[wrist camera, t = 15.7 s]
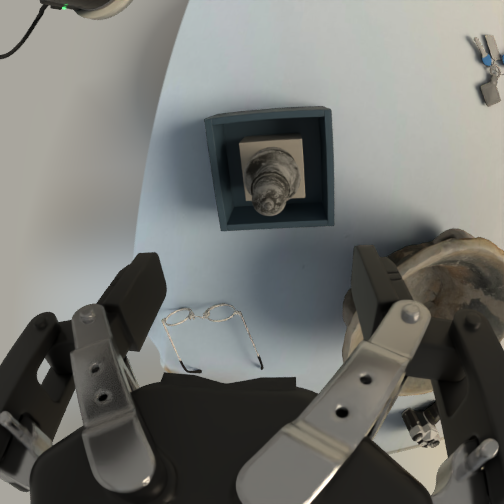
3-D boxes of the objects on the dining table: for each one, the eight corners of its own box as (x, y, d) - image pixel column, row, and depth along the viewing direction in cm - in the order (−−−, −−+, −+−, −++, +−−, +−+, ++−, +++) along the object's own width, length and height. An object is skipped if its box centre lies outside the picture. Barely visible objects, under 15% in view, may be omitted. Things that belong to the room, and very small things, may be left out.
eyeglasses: (245, 295, 51) (241, 315, 46) (268, 367, 59) (267, 386, 55) (160, 305, 54) (150, 323, 50) (195, 371, 63) (190, 389, 58)
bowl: (428, 159, 37) (485, 196, 24) (495, 269, 43) (535, 321, 30) (297, 277, 48) (298, 349, 35) (388, 353, 55) (404, 415, 42)
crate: (230, 210, 44) (221, 231, 38) (216, 114, 37) (203, 119, 31) (327, 205, 42) (334, 226, 36) (323, 106, 35) (331, 109, 29)
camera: (447, 405, 67) (461, 429, 57) (419, 428, 70) (431, 452, 60) (427, 391, 63) (443, 418, 54) (396, 417, 66) (408, 445, 57)
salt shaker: (298, 194, 36) (303, 243, 25) (247, 193, 36) (231, 240, 26) (300, 145, 33) (308, 173, 22) (247, 143, 33) (229, 170, 23)
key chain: (494, 113, 31) (497, 113, 30) (455, 81, 30) (458, 81, 29) (517, 45, 24) (520, 45, 23) (480, 11, 23) (483, 10, 22)
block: (250, 188, 41) (245, 201, 37) (244, 136, 38) (238, 143, 33) (303, 185, 40) (305, 197, 36) (299, 132, 37) (302, 138, 32)
